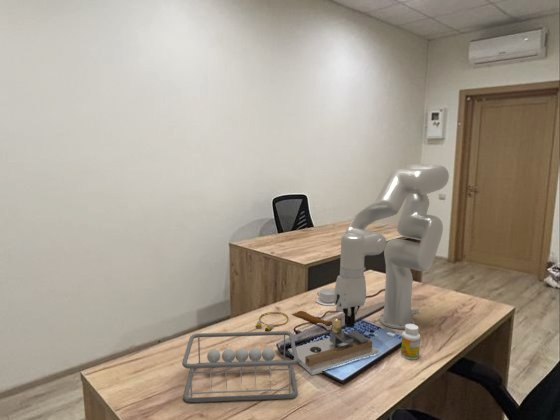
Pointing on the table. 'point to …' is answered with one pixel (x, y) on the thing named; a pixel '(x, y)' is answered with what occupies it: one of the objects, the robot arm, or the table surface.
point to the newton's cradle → (241, 356)
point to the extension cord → (270, 324)
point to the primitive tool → (311, 318)
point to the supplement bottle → (410, 342)
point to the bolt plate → (331, 362)
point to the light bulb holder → (338, 333)
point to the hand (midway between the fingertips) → (349, 325)
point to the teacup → (326, 296)
